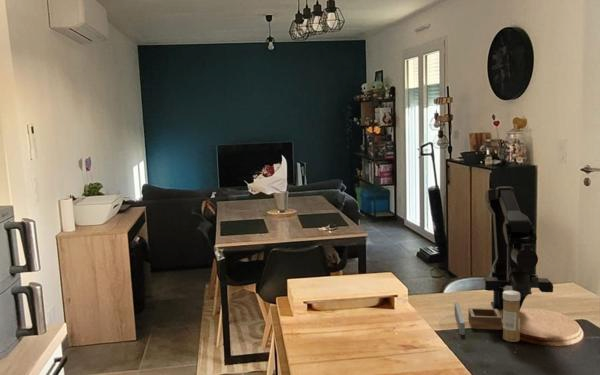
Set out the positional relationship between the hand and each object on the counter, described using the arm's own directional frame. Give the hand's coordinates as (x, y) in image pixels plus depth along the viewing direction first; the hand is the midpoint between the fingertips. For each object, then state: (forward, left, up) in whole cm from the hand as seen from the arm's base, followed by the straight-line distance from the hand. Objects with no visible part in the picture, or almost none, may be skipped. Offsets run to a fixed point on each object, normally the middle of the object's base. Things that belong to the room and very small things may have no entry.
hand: (516, 312), depth 163 cm
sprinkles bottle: (+12, -4, -4) cm, 13 cm away
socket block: (0, -9, -4) cm, 10 cm away
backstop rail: (0, -16, -4) cm, 17 cm away
